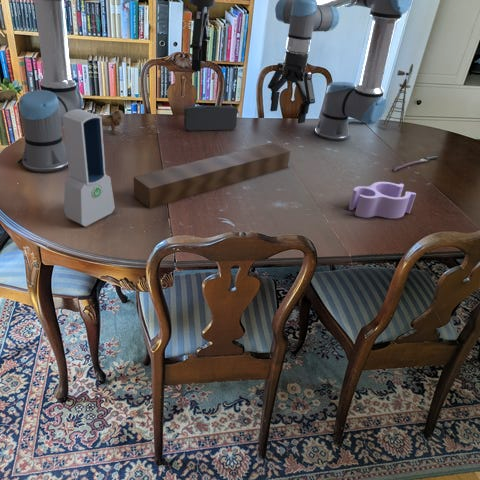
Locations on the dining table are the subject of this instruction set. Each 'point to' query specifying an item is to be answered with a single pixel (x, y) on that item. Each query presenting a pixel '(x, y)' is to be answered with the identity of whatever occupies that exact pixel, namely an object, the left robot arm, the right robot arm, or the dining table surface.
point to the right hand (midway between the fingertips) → (287, 116)
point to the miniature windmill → (400, 99)
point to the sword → (415, 162)
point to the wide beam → (208, 174)
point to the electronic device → (86, 169)
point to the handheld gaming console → (210, 118)
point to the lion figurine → (113, 120)
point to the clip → (381, 200)
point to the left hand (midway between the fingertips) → (199, 65)
